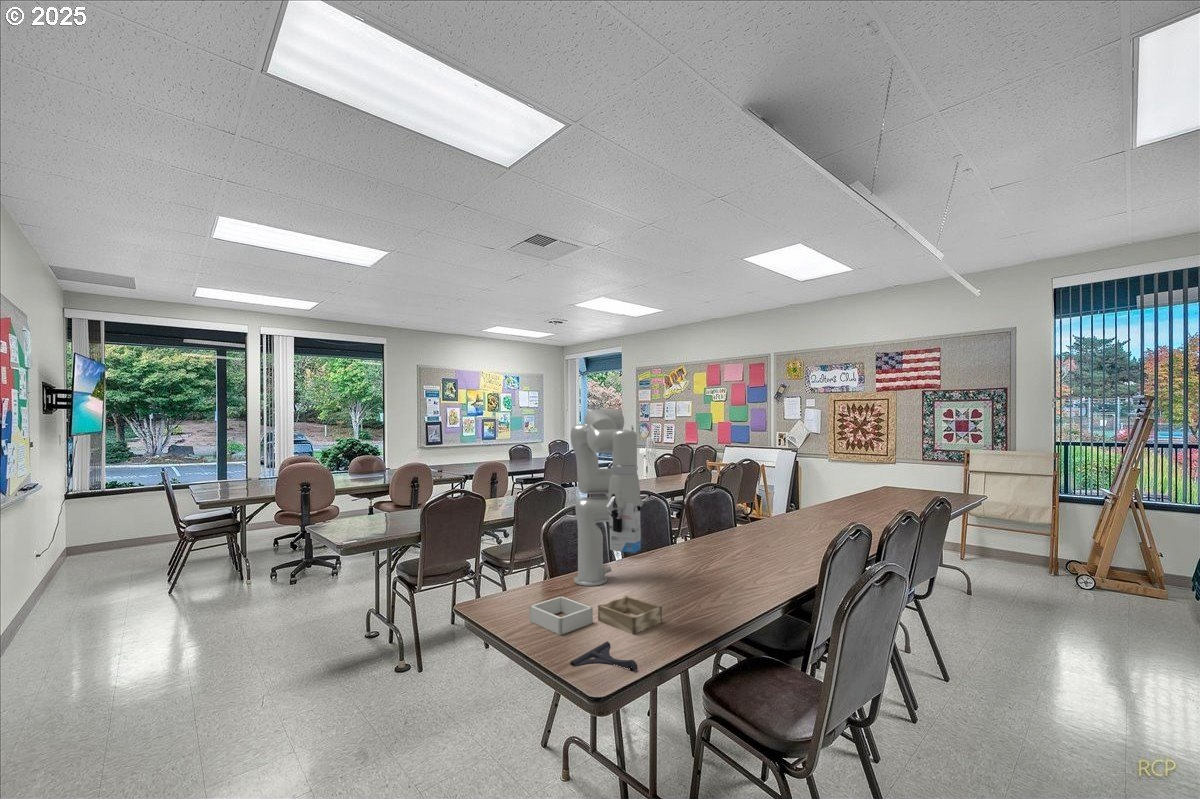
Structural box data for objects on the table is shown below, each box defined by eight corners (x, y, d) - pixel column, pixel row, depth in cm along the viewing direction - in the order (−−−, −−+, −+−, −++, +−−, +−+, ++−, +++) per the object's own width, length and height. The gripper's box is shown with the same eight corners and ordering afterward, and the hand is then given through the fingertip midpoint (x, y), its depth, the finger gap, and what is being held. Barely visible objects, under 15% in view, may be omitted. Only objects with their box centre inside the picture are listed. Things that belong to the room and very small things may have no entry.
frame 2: (626, 610, 163) (626, 595, 163) (662, 622, 152) (661, 607, 152) (598, 620, 154) (598, 605, 154) (634, 634, 143) (633, 618, 144)
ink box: (641, 549, 154) (641, 500, 155) (634, 553, 150) (634, 503, 151) (616, 546, 158) (616, 499, 159) (609, 550, 154) (609, 501, 155)
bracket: (618, 686, 116) (618, 673, 116) (569, 667, 126) (570, 655, 126) (652, 663, 128) (652, 652, 128) (605, 647, 137) (605, 637, 137)
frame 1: (561, 610, 162) (561, 596, 163) (592, 622, 152) (592, 607, 152) (529, 621, 154) (529, 606, 154) (560, 635, 143) (560, 618, 143)
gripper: (634, 468, 164) (635, 524, 163) (596, 471, 152) (596, 532, 151) (652, 469, 159) (653, 527, 158) (613, 473, 147) (614, 536, 146)
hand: (625, 529), depth 155 cm, fingers closed on ink box, 6 cm apart
